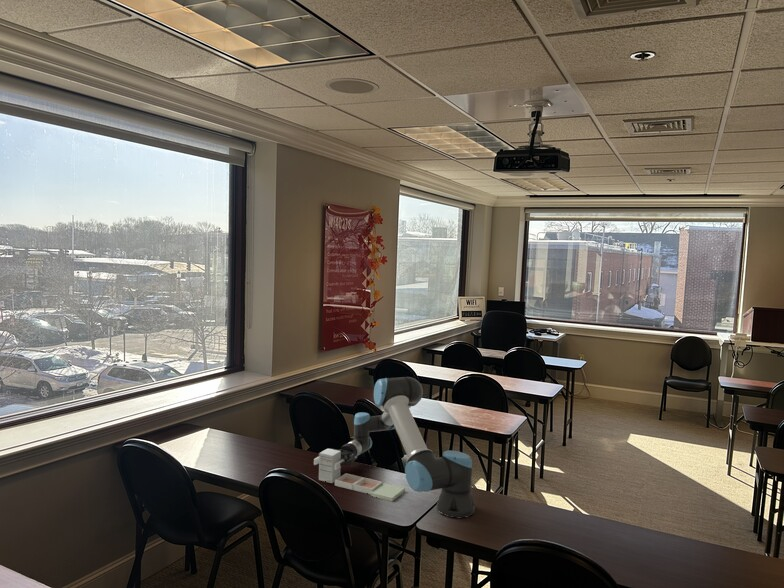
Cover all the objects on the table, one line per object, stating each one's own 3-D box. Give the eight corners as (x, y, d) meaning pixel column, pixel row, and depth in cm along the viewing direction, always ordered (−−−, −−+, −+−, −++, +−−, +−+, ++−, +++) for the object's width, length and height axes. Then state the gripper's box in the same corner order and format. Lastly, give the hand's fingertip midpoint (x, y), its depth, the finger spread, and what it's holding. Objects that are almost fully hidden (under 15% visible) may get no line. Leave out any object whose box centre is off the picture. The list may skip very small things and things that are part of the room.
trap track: (404, 491, 239) (404, 485, 239) (392, 501, 228) (392, 495, 228) (347, 477, 252) (347, 472, 252) (332, 486, 241) (333, 481, 241)
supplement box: (326, 474, 255) (327, 447, 254) (340, 478, 251) (341, 450, 251) (318, 480, 248) (318, 452, 247) (332, 483, 245) (332, 455, 244)
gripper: (371, 462, 260) (346, 478, 241) (330, 453, 271) (303, 467, 251) (371, 447, 260) (347, 461, 240) (330, 438, 270) (303, 451, 251)
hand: (324, 464), depth 246 cm, fingers open, 10 cm apart
